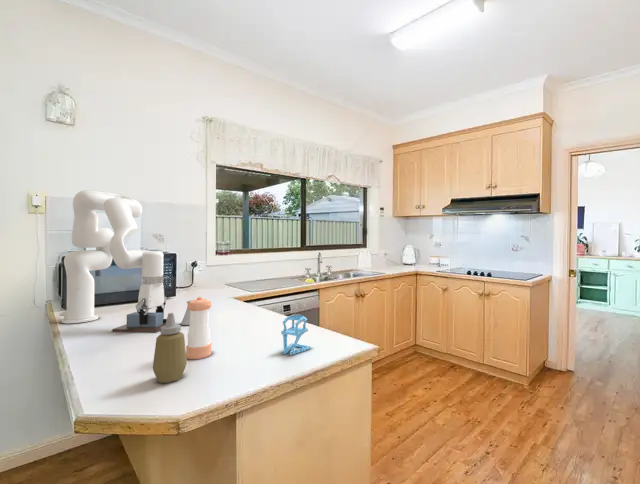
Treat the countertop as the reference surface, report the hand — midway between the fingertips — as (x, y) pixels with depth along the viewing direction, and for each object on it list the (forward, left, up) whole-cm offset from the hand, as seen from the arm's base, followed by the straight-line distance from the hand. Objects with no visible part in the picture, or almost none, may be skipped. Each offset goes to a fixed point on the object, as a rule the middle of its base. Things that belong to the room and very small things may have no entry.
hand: (151, 321), depth 141 cm
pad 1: (-6, 0, -2) cm, 6 cm away
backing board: (-3, 0, -3) cm, 4 cm away
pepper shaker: (+37, -30, -3) cm, 48 cm away
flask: (+12, +8, -3) cm, 15 cm away
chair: (+67, -24, -3) cm, 71 cm away
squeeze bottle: (+39, -48, -3) cm, 62 cm away
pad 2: (0, 0, -2) cm, 2 cm away
